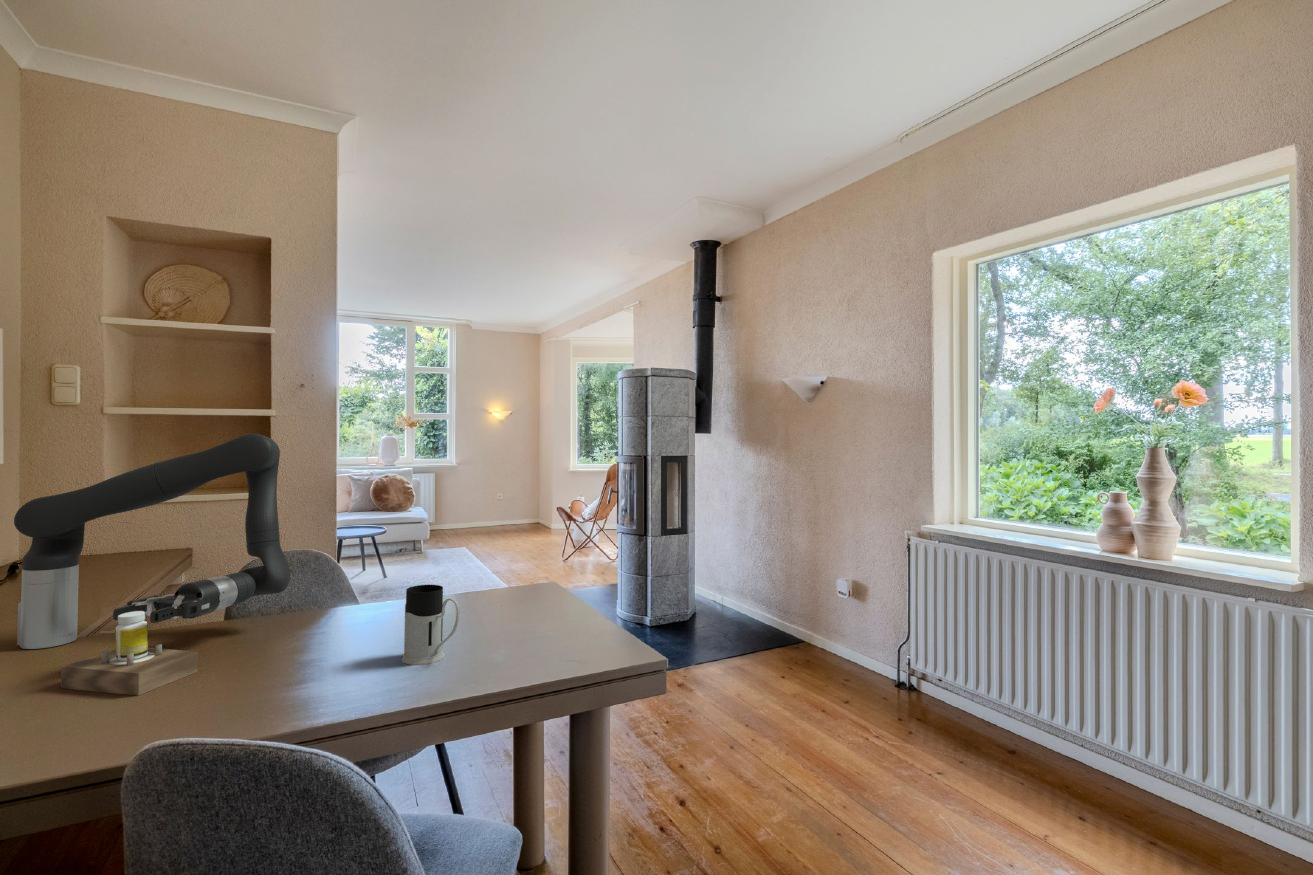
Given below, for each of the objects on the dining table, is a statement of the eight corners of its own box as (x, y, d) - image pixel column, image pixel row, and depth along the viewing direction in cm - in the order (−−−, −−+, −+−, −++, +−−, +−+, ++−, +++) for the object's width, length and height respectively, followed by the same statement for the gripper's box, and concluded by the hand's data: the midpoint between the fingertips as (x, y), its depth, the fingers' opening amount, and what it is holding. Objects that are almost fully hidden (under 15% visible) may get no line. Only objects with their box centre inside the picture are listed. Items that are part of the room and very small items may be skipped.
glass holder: (424, 648, 141) (425, 582, 141) (472, 658, 134) (473, 589, 134) (392, 660, 133) (393, 590, 133) (442, 672, 126) (443, 598, 127)
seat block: (61, 687, 115) (61, 655, 116) (125, 665, 127) (126, 636, 127) (138, 695, 113) (139, 662, 113) (197, 671, 125) (198, 641, 125)
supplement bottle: (154, 653, 122) (153, 611, 122) (127, 662, 117) (126, 618, 117) (137, 651, 123) (136, 609, 123) (110, 660, 119) (109, 616, 119)
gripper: (179, 577, 137) (102, 594, 121) (235, 580, 135) (164, 599, 119) (178, 611, 137) (102, 633, 121) (234, 615, 135) (164, 638, 119)
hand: (133, 616), depth 120 cm, fingers open, 8 cm apart
